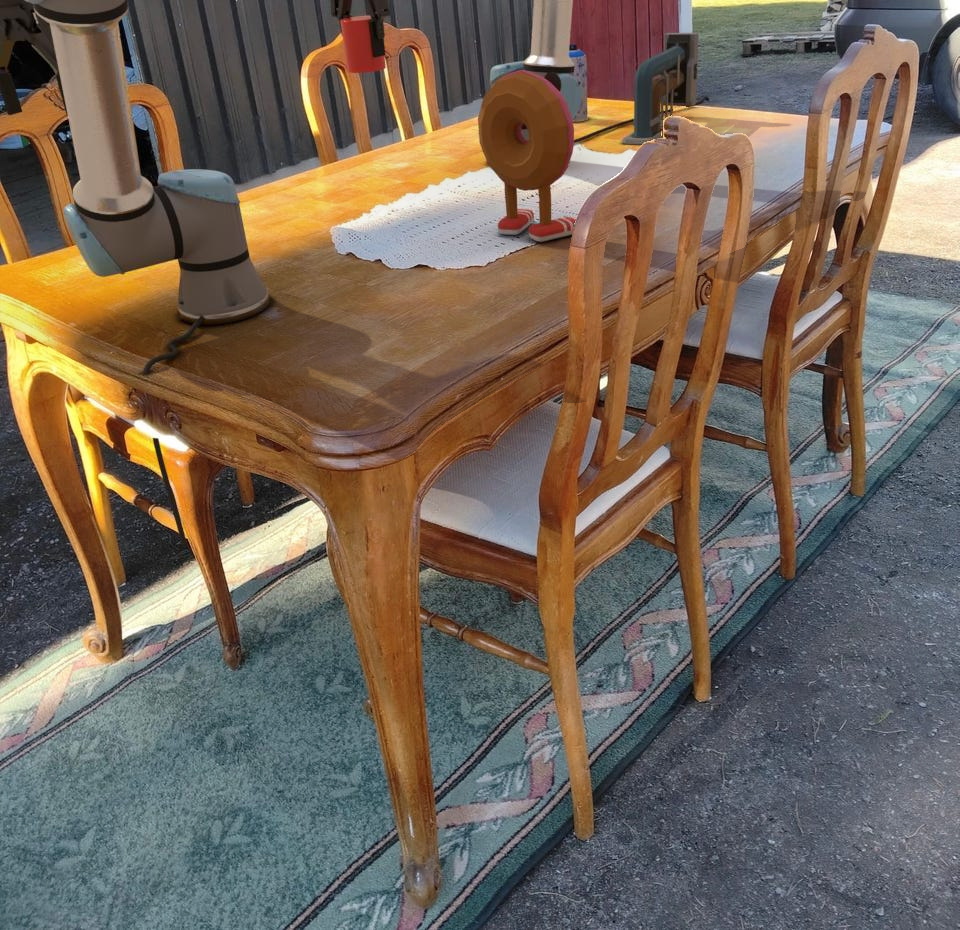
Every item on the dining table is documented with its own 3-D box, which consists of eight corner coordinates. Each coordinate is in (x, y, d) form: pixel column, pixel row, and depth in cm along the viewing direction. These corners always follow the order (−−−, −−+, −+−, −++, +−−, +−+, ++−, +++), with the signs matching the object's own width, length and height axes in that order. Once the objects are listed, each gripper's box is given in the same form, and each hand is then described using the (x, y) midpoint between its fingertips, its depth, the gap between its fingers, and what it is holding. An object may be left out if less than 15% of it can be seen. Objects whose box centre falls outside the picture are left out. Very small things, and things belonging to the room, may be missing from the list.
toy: (594, 233, 186) (591, 67, 171) (560, 248, 180) (555, 77, 165) (511, 217, 199) (502, 62, 184) (477, 231, 193) (465, 71, 178)
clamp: (652, 144, 244) (653, 54, 234) (619, 143, 248) (619, 54, 237) (695, 115, 270) (698, 32, 259) (665, 114, 274) (667, 33, 263)
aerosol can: (559, 122, 275) (557, 47, 265) (562, 117, 282) (559, 42, 272) (587, 121, 274) (585, 45, 263) (589, 115, 280) (587, 41, 270)
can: (390, 65, 201) (384, 14, 196) (379, 72, 195) (373, 19, 190) (354, 67, 203) (347, 16, 198) (342, 73, 196) (334, 21, 191)
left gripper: (79, -27, 157) (114, 109, 168) (-33, -20, 166) (7, 109, 177) (45, -23, 152) (84, 118, 162) (-69, -15, 161) (-25, 117, 171)
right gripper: (300, -68, 190) (319, 56, 202) (370, -73, 177) (385, 60, 189) (330, -72, 194) (346, 50, 206) (400, -76, 182) (413, 54, 193)
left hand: (44, 113), depth 170 cm, fingers open, 13 cm apart
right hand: (365, 55), depth 197 cm, fingers closed on can, 8 cm apart
